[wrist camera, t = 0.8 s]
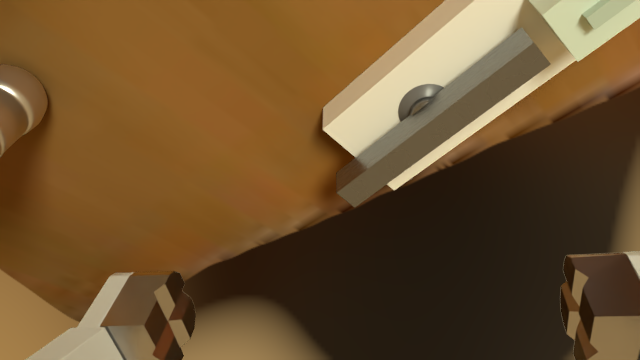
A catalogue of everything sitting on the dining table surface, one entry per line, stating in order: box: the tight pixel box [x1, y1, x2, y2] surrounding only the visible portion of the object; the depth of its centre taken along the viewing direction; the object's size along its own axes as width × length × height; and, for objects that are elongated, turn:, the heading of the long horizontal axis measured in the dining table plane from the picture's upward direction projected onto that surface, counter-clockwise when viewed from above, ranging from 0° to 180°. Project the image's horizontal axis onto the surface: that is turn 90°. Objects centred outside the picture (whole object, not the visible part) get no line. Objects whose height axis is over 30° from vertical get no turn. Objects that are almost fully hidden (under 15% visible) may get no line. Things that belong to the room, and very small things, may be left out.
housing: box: [323, 0, 576, 190], centre depth 45 cm, size 10×29×4 cm, turn 135°
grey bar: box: [336, 27, 551, 207], centre depth 44 cm, size 3×20×4 cm, turn 135°
